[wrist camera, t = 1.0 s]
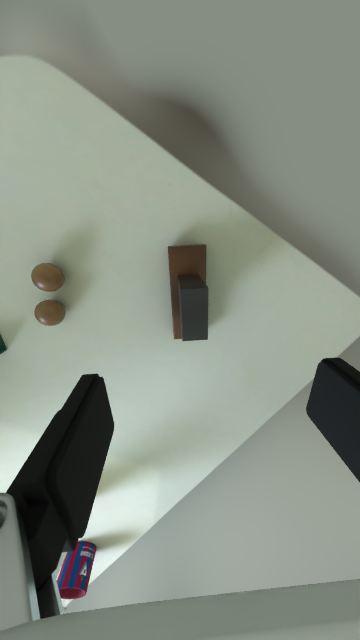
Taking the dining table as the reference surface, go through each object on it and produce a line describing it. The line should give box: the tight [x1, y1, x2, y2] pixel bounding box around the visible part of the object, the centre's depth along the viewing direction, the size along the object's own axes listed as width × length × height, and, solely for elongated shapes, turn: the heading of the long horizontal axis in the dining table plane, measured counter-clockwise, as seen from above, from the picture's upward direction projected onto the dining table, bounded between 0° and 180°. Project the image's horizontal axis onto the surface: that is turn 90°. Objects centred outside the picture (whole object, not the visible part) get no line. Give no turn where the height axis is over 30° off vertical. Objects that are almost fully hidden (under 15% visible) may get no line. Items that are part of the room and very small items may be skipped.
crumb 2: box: [34, 300, 65, 326], centre depth 23 cm, size 3×3×3 cm
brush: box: [168, 244, 208, 341], centre depth 21 cm, size 11×4×7 cm, turn 3°
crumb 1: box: [31, 263, 65, 292], centre depth 22 cm, size 3×3×3 cm
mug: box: [57, 542, 96, 599], centre depth 46 cm, size 7×10×7 cm
